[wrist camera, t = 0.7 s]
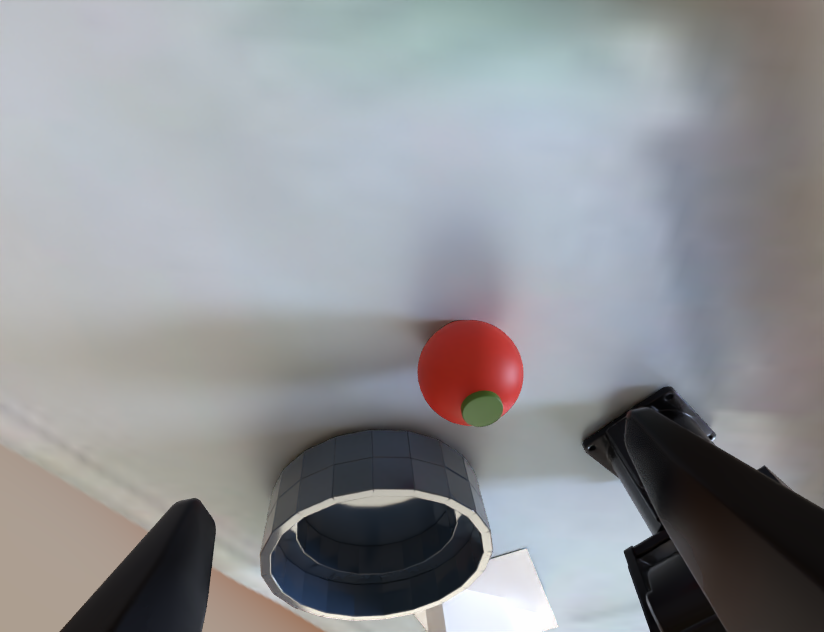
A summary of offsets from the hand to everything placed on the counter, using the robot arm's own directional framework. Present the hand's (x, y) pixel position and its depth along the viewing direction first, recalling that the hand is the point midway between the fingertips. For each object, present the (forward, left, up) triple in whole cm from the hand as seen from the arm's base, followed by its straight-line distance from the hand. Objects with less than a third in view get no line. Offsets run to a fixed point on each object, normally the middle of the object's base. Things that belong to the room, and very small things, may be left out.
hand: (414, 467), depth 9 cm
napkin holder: (-30, +20, -13) cm, 38 cm away
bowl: (-12, +14, -13) cm, 22 cm away
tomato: (-7, +2, -13) cm, 14 cm away
